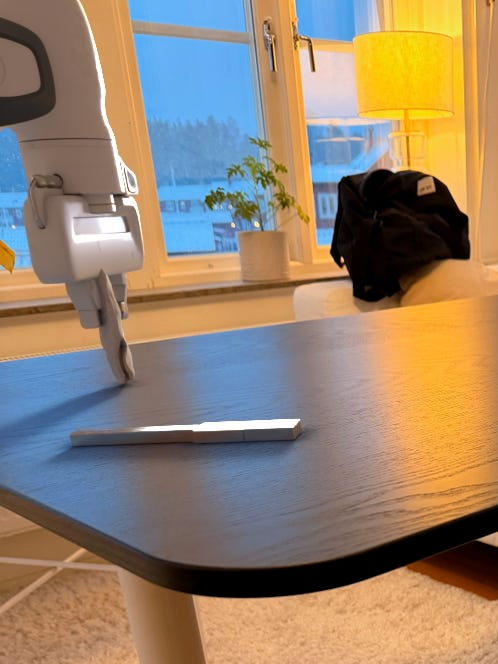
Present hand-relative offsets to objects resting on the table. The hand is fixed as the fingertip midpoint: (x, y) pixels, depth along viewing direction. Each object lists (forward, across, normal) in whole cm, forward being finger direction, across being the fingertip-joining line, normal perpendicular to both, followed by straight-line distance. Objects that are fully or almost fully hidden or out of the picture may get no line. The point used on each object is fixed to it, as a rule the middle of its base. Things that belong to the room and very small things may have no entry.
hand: (107, 323), depth 93 cm
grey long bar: (+6, -28, -16) cm, 33 cm away
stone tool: (+6, 0, 0) cm, 7 cm away
